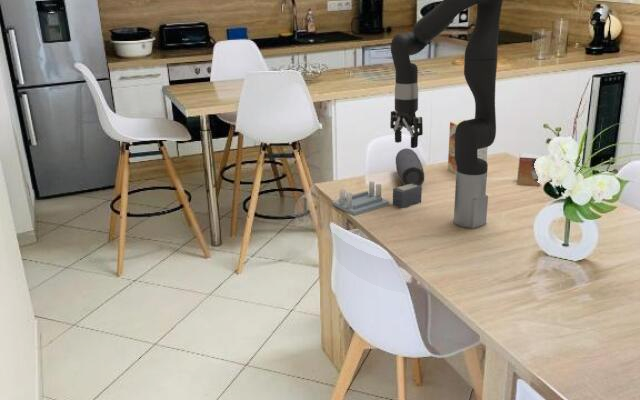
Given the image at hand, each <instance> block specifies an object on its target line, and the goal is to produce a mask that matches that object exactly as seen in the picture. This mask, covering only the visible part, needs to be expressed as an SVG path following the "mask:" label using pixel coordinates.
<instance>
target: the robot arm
mask: <svg viewBox="0 0 640 400" xmlns="http://www.w3.org/2000/svg"><path fill="white" fill-rule="evenodd" d="M475 5H476V7H477V8H476V19H475V23H474V27H473V30H472V32H471V34H470V37H469V39H468V42H467V44H466V46H465V51H464V61H463V62H464V63H463V65H464V66H463V75H464V76H463V77H464V79H465V81H466V84H467V85H468V87H469V90H470V91H471V94H472V96H473V98H474V104H475V105H474V106H475V107H474V108H475V109H474V110H475V111H474V112H475V113H474V118H471V119H467V120H466V119H464V120H465V121H462V122H460V123H459V124H458V125H457V127H456V131H455V162H456V165H457V170H456V174H455V190H454V191H455V192H454V206H453V207H454V209H453V223H454V224H455V225H457V226H459V227H463V228H470V229H476V228H479V227H482V226H485V225H487V216H488V204H489V195H487V194H486V193H487V192H486V191H487V180H488V162H486V161H485V160H483V159H480V158H478V156H477V149H481V148H485V147H488V148H489V147H490V146H491V145H492V144H494V142H495V139H496V135H497V119H496V118H497V117H496V116H497V115H496V82H497V69H498V47H499V44H498V43H499V33H500V32H499V31H500V30H499V29H500V20H501V19H500V18H501V12H502V8H503V7H502V6H503V0H442V1H441V2H440V3H439V4H437V5H436V6H435V7H434V8H432V10H430V11H429V12H428V13H426V14H425V15H424V16H423V17H421V18H420V19H419V20H417V22H415V23H414V25H413V28H412V29H413V30H412V31H409V32H404V33H398V34H395V36H393V38H392V39H391V43H390V54H391V57H392V61H393V66H394V69H395V84H394V110H393V111H390V124H389V125H390V129H393V132H394V142H395V143H397V144H398V143H401V142H402V130H403V128H405V129H406V130H407V132H409V134H410V148H411V149H416V148H417V147H418V146H419V139H418V138H419V137H420V136H423V134H424V133H423V131H424V130H423V129H424V128H423V126H424V125H423V117H422V116H416V113H417V111H418V110H419V85H418V80H419V79H418V77H419V75H418V73H419V72H418V66H417V65H416V64H415V63H412V62H411V59H410V56H414V55H416V54H419V53H420V52H421V51H422V50H424V49H425V47H427V46H428V44H429V43H430V42H431V41H432V40H434V39H435V38H436V37H438V36H439V35H440V34H442V33H443V32H444V31H445V30H446V29H447V28H448V27H449V26H450V25H451V23H452V22H453V21H454V20H455V18H456V17H457V16H458V15H459V14H460V13H462V12H463V11H465V10H467V9H469V8H470V7H473V6H475Z"/></svg>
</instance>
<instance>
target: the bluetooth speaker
mask: <svg viewBox="0 0 640 400" xmlns="http://www.w3.org/2000/svg"><path fill="white" fill-rule="evenodd" d="M395 167H396V173H397V175H398V178H399V179H400V182H401V183H402V184H403V185H407V184H410V183H414V184H417V185H420V186H423V183H424V181H425V172H424V167H423V164H422V162H421V159H420V158H419V156H418V154H417V153H416V152H415V151H414V149H412V148H411V149H410V148H407V147H406V148H403V149H400V150H399V151H398V152H397V154H396V156H395Z"/></svg>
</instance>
